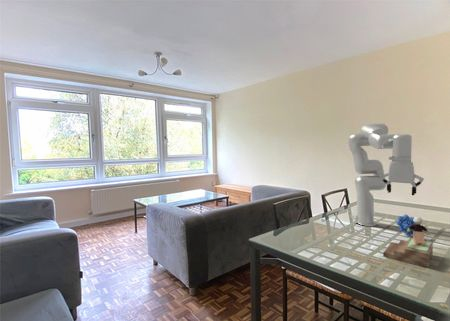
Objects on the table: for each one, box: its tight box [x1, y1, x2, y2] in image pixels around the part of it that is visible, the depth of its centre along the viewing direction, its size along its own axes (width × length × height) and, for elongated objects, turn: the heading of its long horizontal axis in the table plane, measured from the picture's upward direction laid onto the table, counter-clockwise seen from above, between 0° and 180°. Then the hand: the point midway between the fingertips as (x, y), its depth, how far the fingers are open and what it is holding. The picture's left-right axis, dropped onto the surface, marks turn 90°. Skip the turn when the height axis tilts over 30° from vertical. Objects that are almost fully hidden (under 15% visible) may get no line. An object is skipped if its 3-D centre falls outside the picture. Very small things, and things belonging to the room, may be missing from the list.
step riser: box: [383, 237, 434, 269], centre depth 110 cm, size 16×16×6 cm
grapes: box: [395, 214, 415, 237], centre depth 132 cm, size 12×7×12 cm, turn 37°
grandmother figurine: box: [407, 216, 430, 246], centre depth 107 cm, size 8×4×13 cm, turn 65°
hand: (401, 193), depth 119 cm, fingers open, 9 cm apart
